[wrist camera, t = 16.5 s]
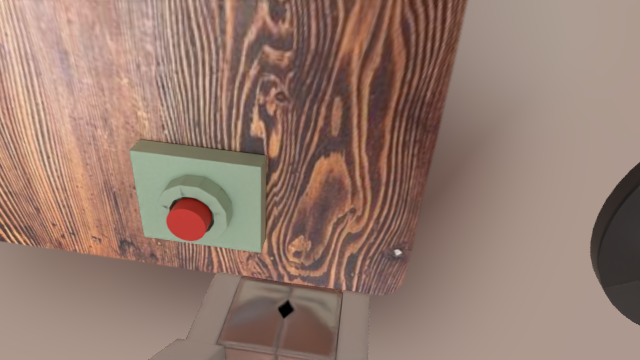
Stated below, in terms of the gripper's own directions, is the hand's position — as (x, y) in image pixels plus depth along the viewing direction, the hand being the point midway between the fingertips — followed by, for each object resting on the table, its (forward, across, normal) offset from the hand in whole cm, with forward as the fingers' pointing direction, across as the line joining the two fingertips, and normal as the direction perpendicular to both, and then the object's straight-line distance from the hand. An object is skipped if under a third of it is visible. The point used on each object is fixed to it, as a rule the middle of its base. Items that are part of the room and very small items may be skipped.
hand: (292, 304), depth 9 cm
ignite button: (+26, +13, +19) cm, 34 cm away
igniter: (+29, +13, +19) cm, 37 cm away
